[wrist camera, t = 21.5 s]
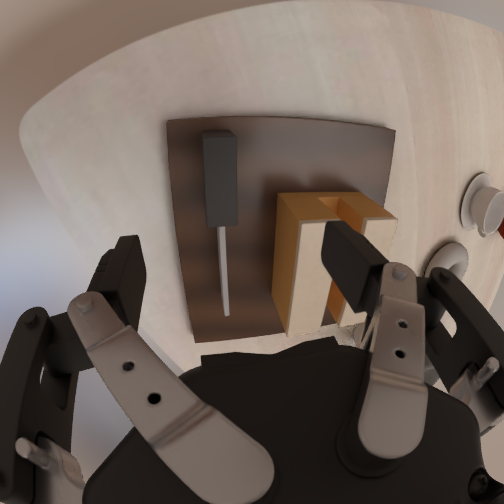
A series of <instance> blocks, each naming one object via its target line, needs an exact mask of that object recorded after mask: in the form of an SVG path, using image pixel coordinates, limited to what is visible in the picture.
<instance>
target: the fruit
mask: <svg viewBox="0 0 504 504" xmlns="http://www.w3.org/2000/svg"><path fill="white" fill-rule="evenodd" d="M497 230H498V231H499V233H500V235H501V236H502V237H503V239H504V217H503V220H502V222H501V224H500V226H499V227H498V228H497Z"/></svg>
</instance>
